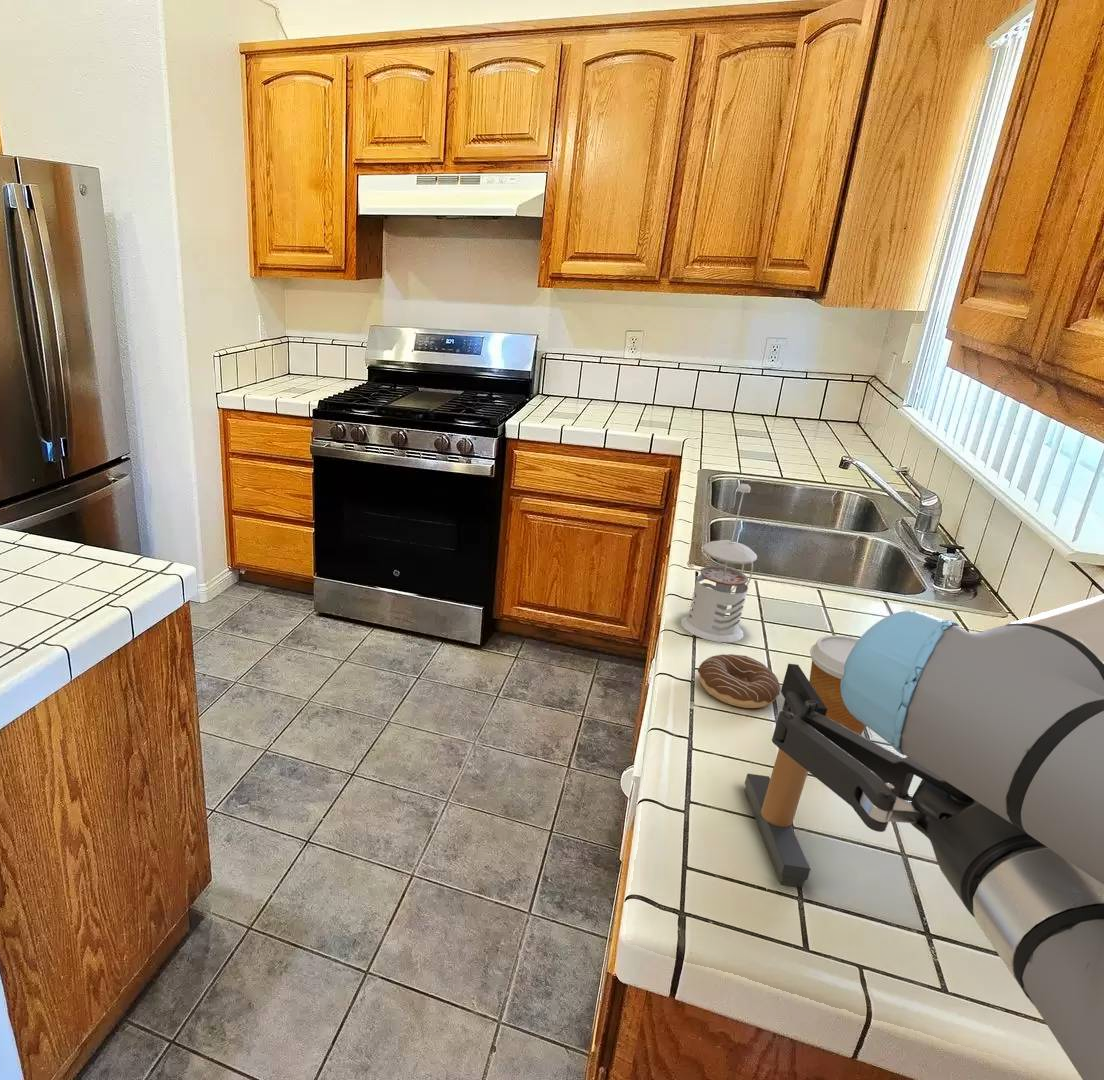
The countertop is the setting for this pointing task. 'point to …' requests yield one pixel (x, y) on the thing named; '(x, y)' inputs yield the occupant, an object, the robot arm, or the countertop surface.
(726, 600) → the french press
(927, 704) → the robot arm
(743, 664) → the donut
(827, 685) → the disposable coffee cup
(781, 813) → the squeegee
